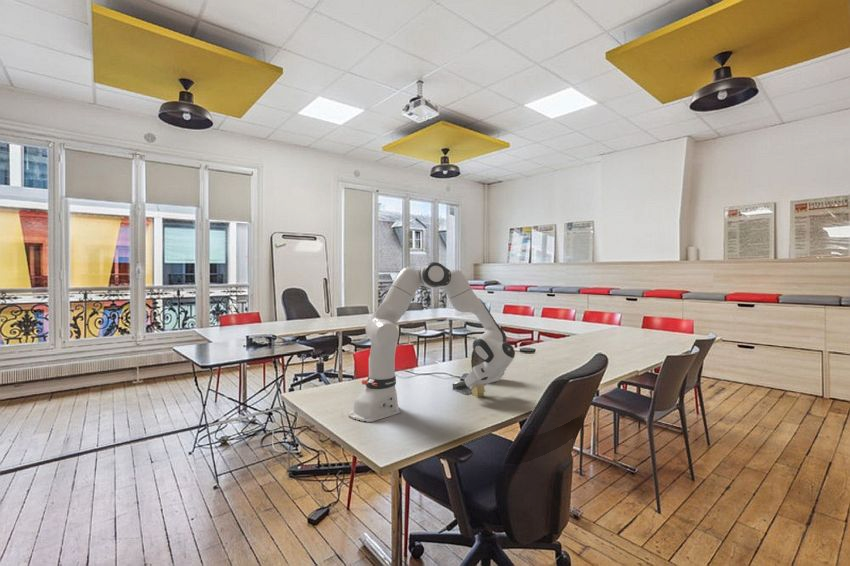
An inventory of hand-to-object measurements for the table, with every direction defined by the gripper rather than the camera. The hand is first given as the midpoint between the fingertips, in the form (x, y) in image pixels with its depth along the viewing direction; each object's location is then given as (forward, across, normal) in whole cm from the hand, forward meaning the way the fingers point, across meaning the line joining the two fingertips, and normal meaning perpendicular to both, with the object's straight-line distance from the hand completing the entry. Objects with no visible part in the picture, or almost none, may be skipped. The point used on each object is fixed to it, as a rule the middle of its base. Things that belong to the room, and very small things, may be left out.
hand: (477, 386), depth 187 cm
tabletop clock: (+16, -22, -9) cm, 28 cm away
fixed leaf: (+9, -2, -3) cm, 10 cm away
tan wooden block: (+3, 0, +4) cm, 4 cm away
